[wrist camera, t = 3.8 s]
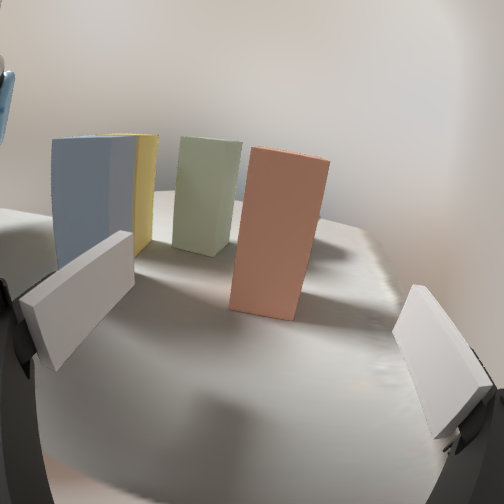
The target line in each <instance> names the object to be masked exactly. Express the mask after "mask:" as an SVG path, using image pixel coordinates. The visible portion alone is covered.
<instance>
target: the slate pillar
mask: <svg viewBox="0 0 504 504" xmlns="http://www.w3.org/2000/svg"><path fill="white" fill-rule="evenodd" d="M136 141H137V136H79V137H68V138H60V139H53V140H52V154H51V194H52V195H51V196H52V214H53V227H54V238H55V246H56V254H57V261H58V268H59V270H60V269H61V268H63V267H64V266H65V265H67V264H68V263H70V262H71V261H73V260H74V259H76V258H77V257H79V256H80V255H82V254H83V253H85V252H86V251H88V250H89V249H91V248H92V247H94V246H96V245H97V244H99V243H100V242H102V241H103V240H105V239H107V238H108V237H110V236H111V235H113V234H115V233H116V232H118V231H120V230H121V231H126V232H132V212H133V182H134V166H135V152H136Z"/></svg>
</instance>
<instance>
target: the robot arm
mask: <svg viewBox="0 0 504 504" xmlns="http://www.w3.org/2000/svg"><path fill="white" fill-rule="evenodd" d="M1 2H2V0H0V7H1ZM14 81H15V74H14V73H13V72H9V71H7V72H5V73H4V59H3V57H2V56H1V55H0V146H1V144H2V142H3V139H4V134H5V130H6V125H7V119H8V114H9V109H10V103H11V98H12V92H13V87H14ZM134 285H135V277H134V249H133V233H132V232H126V231H121V230H120V231H118V232H116V233H115V234H113V235H111V236H110V237H108V238H107V239H105V240H103V241H102V242H100V243H99V244H97V245H96V246H94V247H92V248H91V249H89V250H88V251H86V252H85V253H83V254H82V255H80V256H79V257H77V258H76V259H74V260H73V261H71V262H70V263H68V264H67V265H65V266H64V267H63V268H61V269H60V270H58V271H55V272H53V273H50V274H49V275H47V276H46V277H44V278H43V279H42V280H41V281H39V282H37V283H36V284H35V286H32V287H31V288H29V289H28V290H27V291H25V292H24V293H23V294H21V295H20V296H19V297H17V298H16V299H15V300H13V301H11V297H10V294H9V290H8V287H7V283H6V281H5V280H4V279H2V278H0V504H54V501H53V498H52V494H51V491H50V487H49V483H48V479H47V475H46V470H45V466H44V461H43V456H42V450H41V444H40V438H39V431H38V422H37V413H36V400H35V378H34V361H33V358H32V356H33V355H34V354H35V353H36V352H37V354H38V356H39V359H40V361H41V363H42V364H43V365H45V366H46V367H48V368H50V369H52V370H54V371H55V372H57V371H58V369H59V368H60V367H61V366H62V365H63V363H64V362H65V361H66V360H67V359H68V357H69V356H70V355H71V354H72V353H73V352H74V350H75V349H76V348H77V347H78V346H79V345H80V344H81V342H82V341H83V340H84V339H85V338H86V337H87V336H88V335H89V333H90V332H91V331H92V330H93V329H94V328H95V327H96V326H97V325H98V323H99V322H100V321H101V320H102V319H103V318H104V317H105V316H106V315H107V314H108V313H109V311H110V310H111V309H112V308H113V307H114V306H115V305H116V304H117V303H118V302H119V301H120V300H121V299H122V298H123V297H124V295H125V294H126V293H127V292H128V291H129V290H130V289H131V288H132V287H133V286H134ZM392 333H393V335H394V337H395V339H396V342H397V344H398V346H399V349H400V351H401V353H402V356H403V358H404V361H405V363H406V365H407V368H408V370H409V373H410V375H411V378H412V381H413V383H414V386H415V388H416V391H417V394H418V396H419V399H420V402H421V405H422V408H423V410H424V413H425V416H426V419H427V422H428V425H429V428H430V431H431V434H432V438H433V439H439V438H445V437H448V436H449V435H450V434H451V433H452V432H453V431H454V430H455V429H456V428H457V427H458V428H459V431H460V434H459V435H458V436H457V437H456V438H455V439H453V440H452V441H451V442H450V443H449V444H448V445H447V446H446V447H445V448H444V450H443V452H445V451H446V450H448V449H449V448H450V447H452V448H451V450H450V452H448V454H449V455H448V458H447V460H446V463H445V465H444V467H443V470H442V472H441V474H440V476H439V478H438V481H437V483H436V485H435V487H434V489H433V491H432V493H431V495H430V497H429V498H428V500H427V502H426V504H504V389H499V390H498V389H497V387H496V386H495V384H494V382H493V381H492V379H491V377H490V376H489V374H488V372H487V371H486V369H485V367H483V364H482V362H481V361H480V360H479V358H478V356H477V355H476V353H475V352H474V350H473V349H472V348H471V347H470V346H469V345H468V344H467V342H466V341H465V340H464V338H463V337H462V335H461V334H460V332H459V331H458V329H457V328H456V327H455V325H454V324H453V322H452V321H451V319H450V318H449V317H448V315H447V314H446V313H445V312H444V310H443V309H442V307H441V306H440V305H439V303H438V302H437V301H436V299H435V298H434V297H433V295H432V294H431V293H430V292H429V290H428V289H427V288H426V287H425V286H420V285H415V284H413V285H412V288H411V290H410V293H409V295H408V297H407V300H406V302H405V304H404V307H403V309H402V311H401V314H400V316H399V318H398V320H397V322H396V324H395V327H394V329H393V331H392Z"/></svg>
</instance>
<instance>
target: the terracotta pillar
mask: <svg viewBox="0 0 504 504" xmlns="http://www.w3.org/2000/svg"><path fill="white" fill-rule="evenodd" d="M329 165H330V161H328V160H325V159H323V158H320V157H315V156H310V155H306V154H301V153H295V152H290V151H284V150H279V149H273V148H267V147H260V146H258V147H251V154H250V160H249V166H248V173H247V180H246V186H245V193H244V200H243V207H242V214H241V221H240V228H239V235H238V243H237V250H236V257H235V265H234V272H233V279H232V287H231V295H230V302H229V309H230V310H235V311H240V312H245V313H250V314H256V315H261V316H267V317H272V318H278V319H284V320H289V321H293V318H294V314H295V311H296V307H297V303H298V300H299V296H300V292H301V288H302V285H303V281H304V277H305V273H306V269H307V265H308V261H309V257H310V253H311V249H312V244H313V240H314V236H315V231H316V227H317V223H318V218H319V214H320V209H321V204H322V200H323V195H324V190H325V185H326V180H327V175H328V170H329Z"/></svg>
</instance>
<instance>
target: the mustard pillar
mask: <svg viewBox="0 0 504 504" xmlns="http://www.w3.org/2000/svg"><path fill="white" fill-rule="evenodd" d="M95 136H137V141H136V152H135V166H134V182H133V212H132V233H133V249H134V257H136V256H137V255H138V254H139V253H140V252H141V250H142V249H143V248H144V247H145V246H146V245H147V244H148V243H149V242H150V241H151V240H152V221H153V198H154V182H155V168H156V157H157V147H158V138H159V137H158V136H159V135H150V134H101V135H95Z"/></svg>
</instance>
